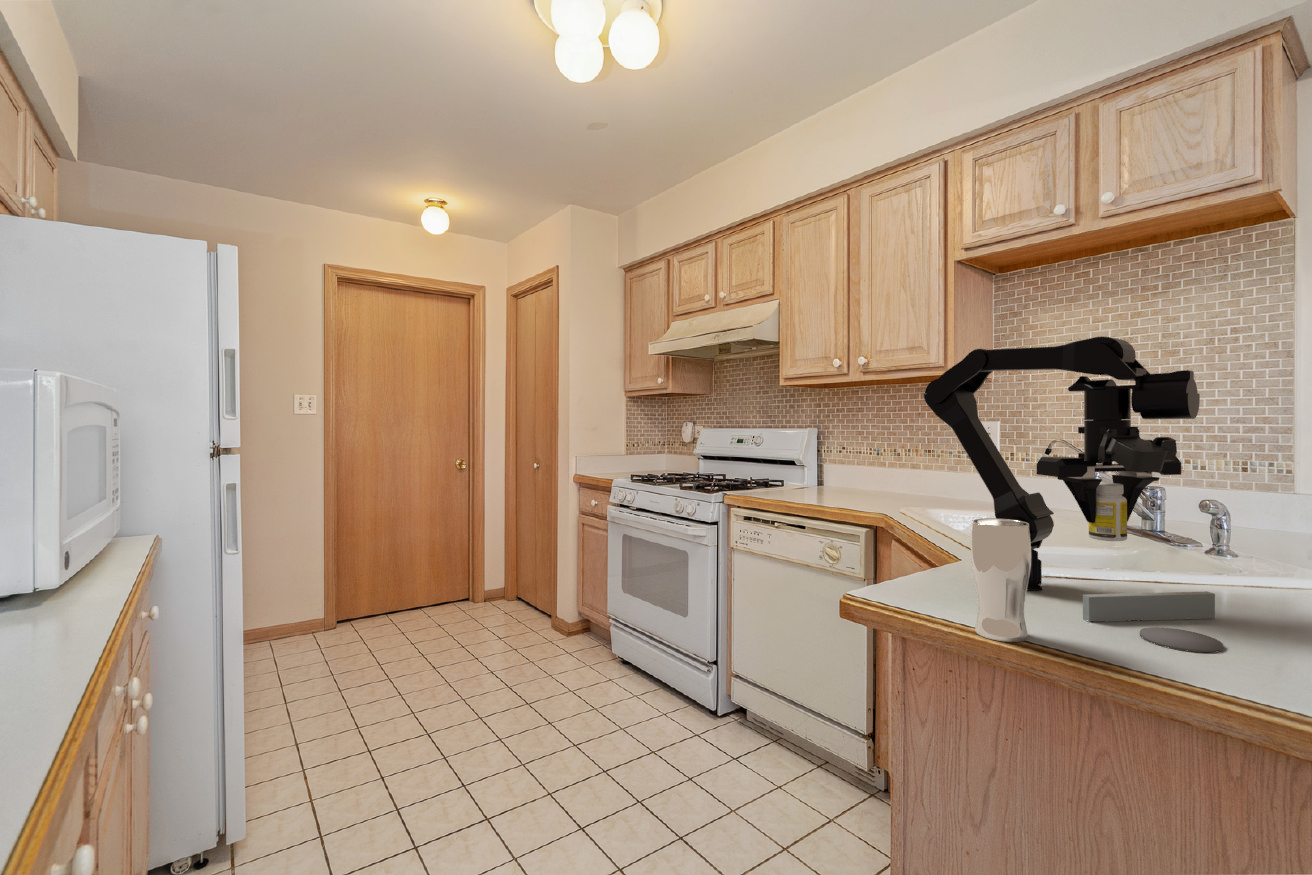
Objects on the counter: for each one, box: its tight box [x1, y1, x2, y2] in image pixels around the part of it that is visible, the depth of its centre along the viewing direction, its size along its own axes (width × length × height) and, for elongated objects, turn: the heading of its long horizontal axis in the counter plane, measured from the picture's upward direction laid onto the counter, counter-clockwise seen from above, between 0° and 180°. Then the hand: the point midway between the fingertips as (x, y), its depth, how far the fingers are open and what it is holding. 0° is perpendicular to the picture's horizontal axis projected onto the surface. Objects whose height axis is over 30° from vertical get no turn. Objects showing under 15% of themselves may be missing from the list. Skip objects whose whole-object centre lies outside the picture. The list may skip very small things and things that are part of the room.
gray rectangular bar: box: [1082, 591, 1216, 622], centre depth 86 cm, size 18×1×4 cm, turn 91°
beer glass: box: [970, 517, 1031, 643], centre depth 81 cm, size 7×7×15 cm
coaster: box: [1139, 626, 1224, 653], centre depth 78 cm, size 8×8×1 cm
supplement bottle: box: [1088, 482, 1128, 542], centre depth 93 cm, size 5×5×8 cm
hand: (1107, 522), depth 93 cm, fingers closed on supplement bottle, 5 cm apart
